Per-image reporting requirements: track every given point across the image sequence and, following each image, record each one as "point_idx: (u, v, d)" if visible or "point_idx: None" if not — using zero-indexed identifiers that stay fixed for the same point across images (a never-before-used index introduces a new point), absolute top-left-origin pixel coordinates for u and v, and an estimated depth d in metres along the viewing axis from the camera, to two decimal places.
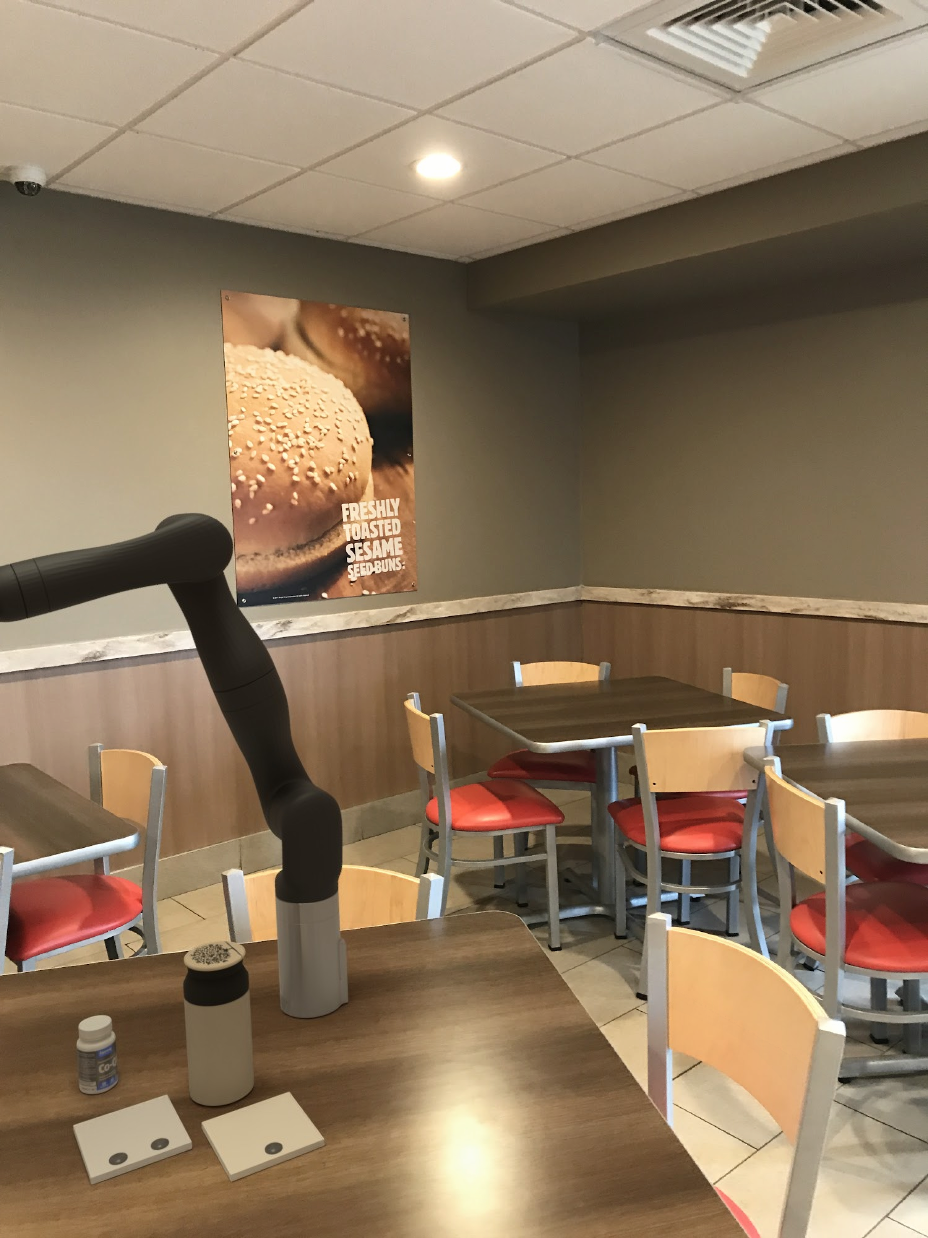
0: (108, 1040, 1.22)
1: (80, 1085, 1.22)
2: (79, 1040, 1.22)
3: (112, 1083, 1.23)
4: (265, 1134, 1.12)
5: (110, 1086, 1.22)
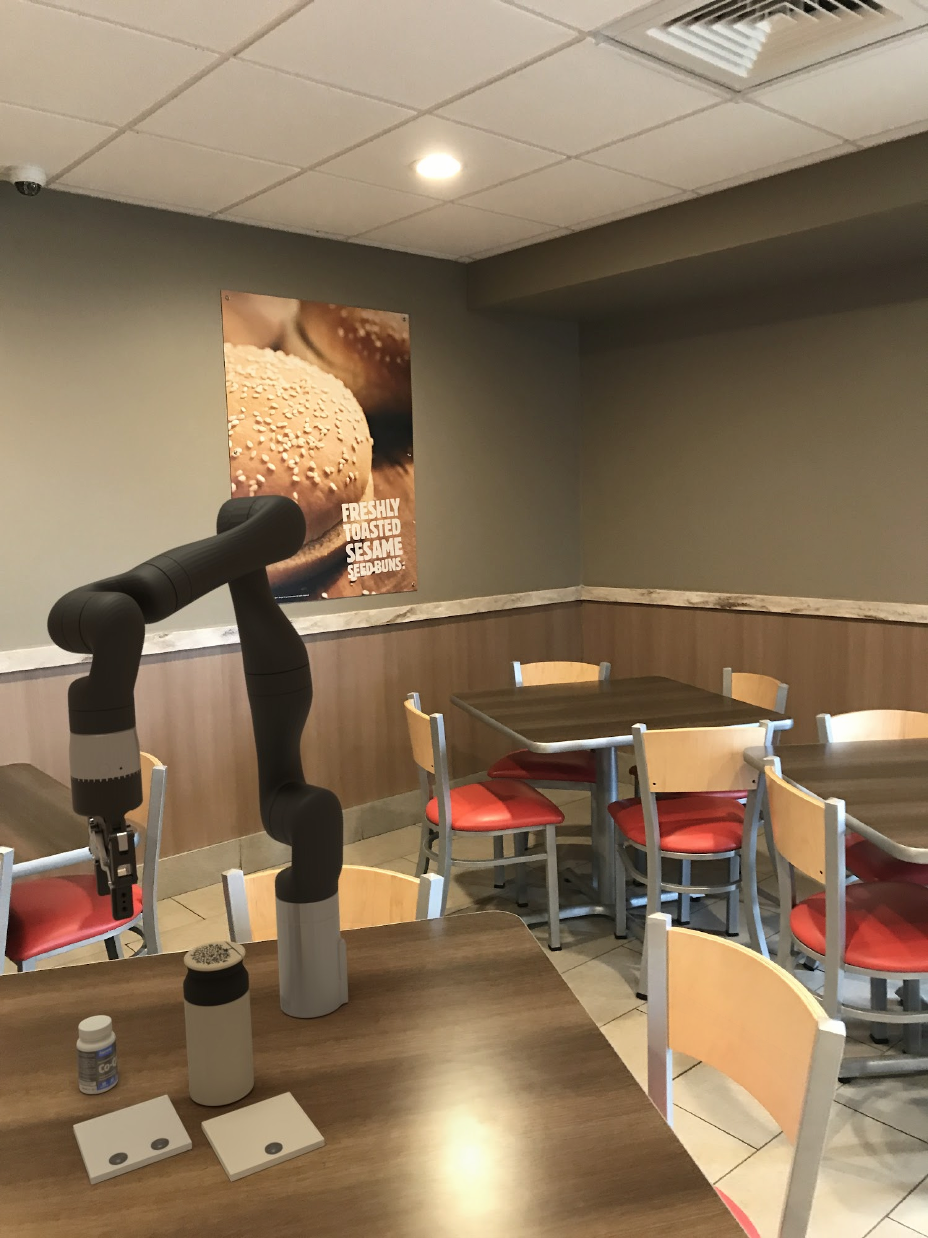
0: (108, 1040, 1.22)
1: (80, 1085, 1.22)
2: (79, 1040, 1.22)
3: (112, 1083, 1.23)
4: (265, 1134, 1.12)
5: (110, 1086, 1.22)
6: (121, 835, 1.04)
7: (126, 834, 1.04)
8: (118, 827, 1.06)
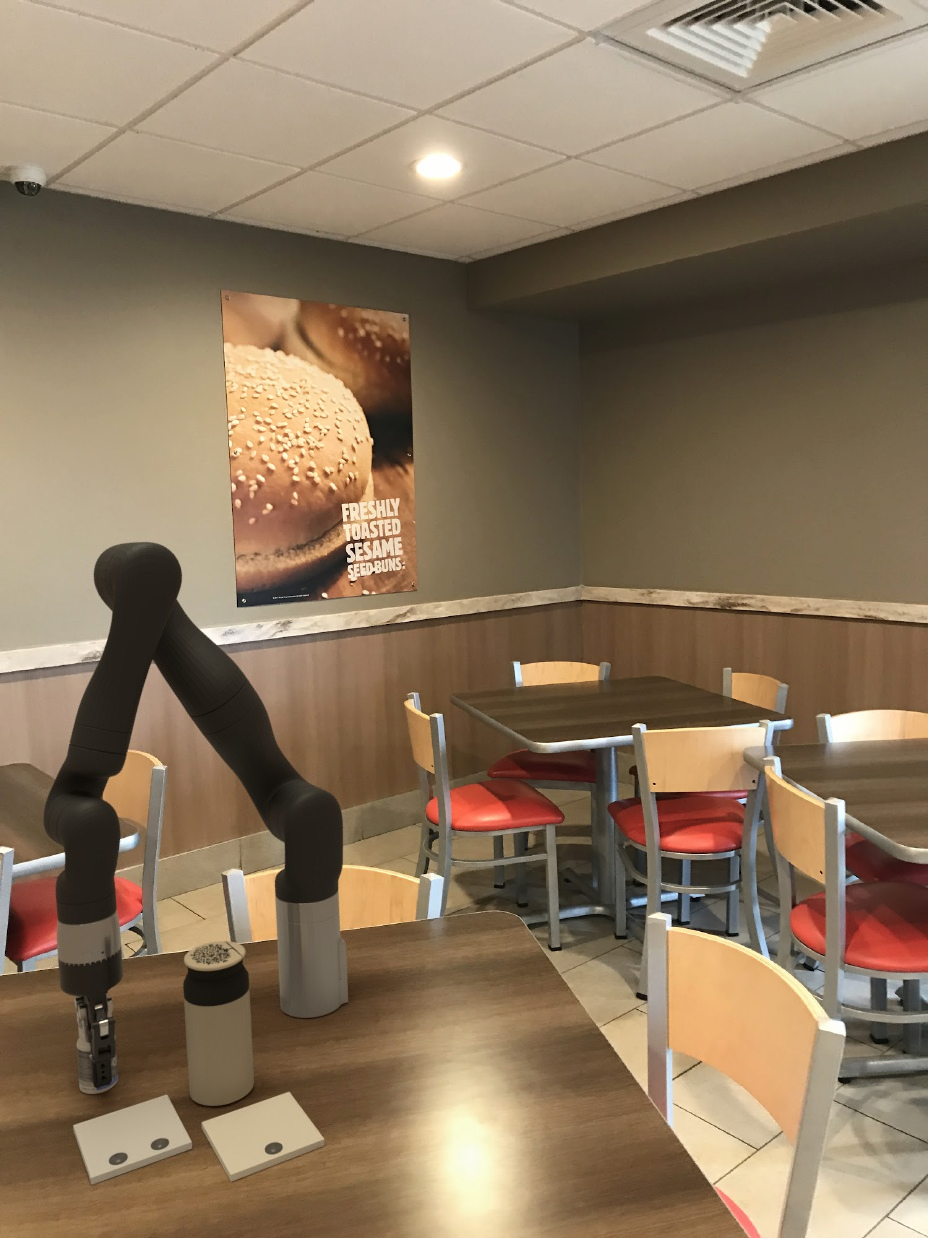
0: None
1: (80, 1085, 1.22)
2: (79, 1040, 1.22)
3: (112, 1083, 1.23)
4: (265, 1134, 1.12)
5: (110, 1086, 1.22)
6: (103, 1024, 1.17)
7: (108, 1023, 1.17)
8: (100, 1006, 1.19)
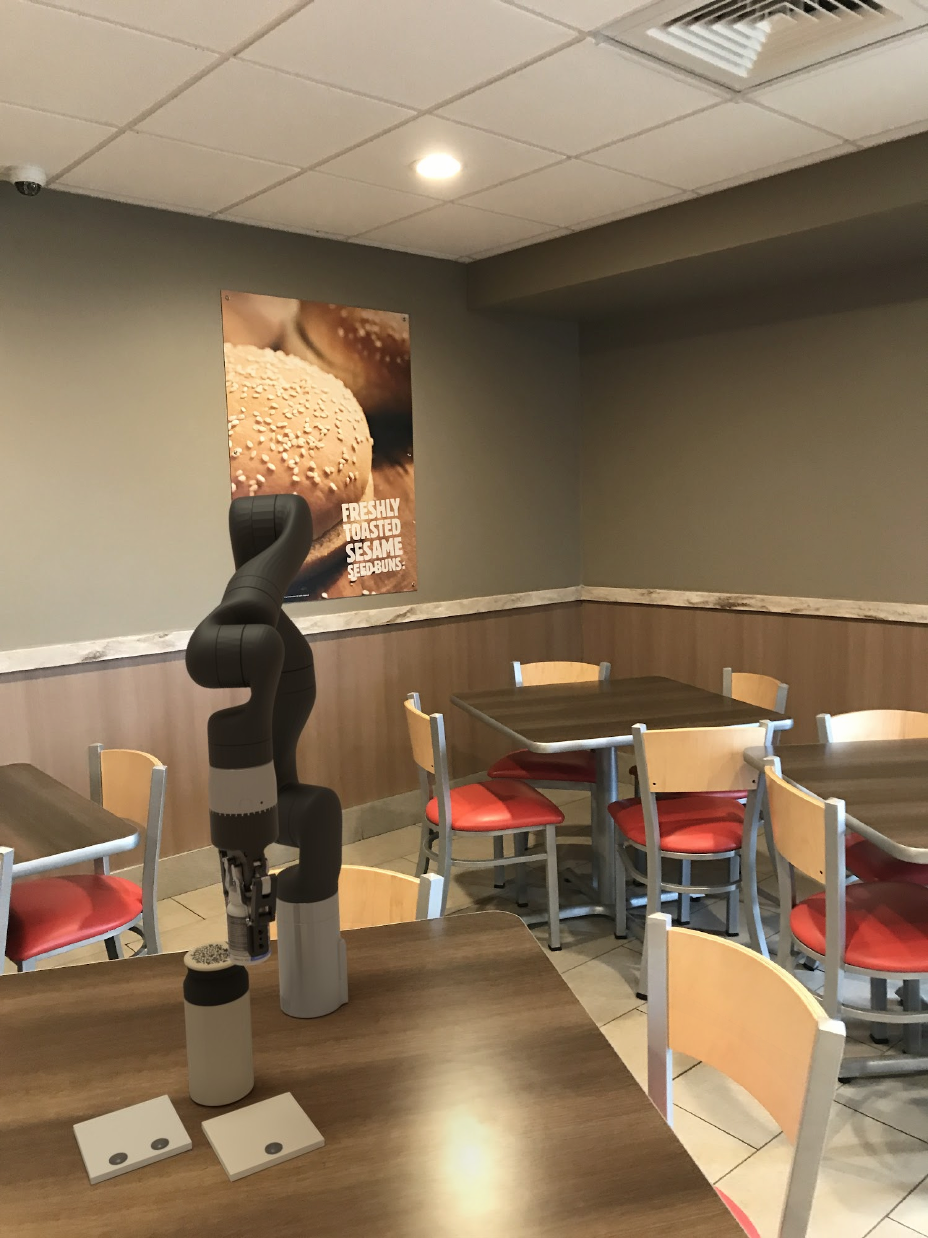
0: None
1: (231, 956, 1.08)
2: (230, 905, 1.09)
3: (266, 954, 1.09)
4: (265, 1134, 1.12)
5: (264, 958, 1.09)
6: (265, 881, 1.03)
7: (270, 879, 1.04)
8: (259, 864, 1.06)
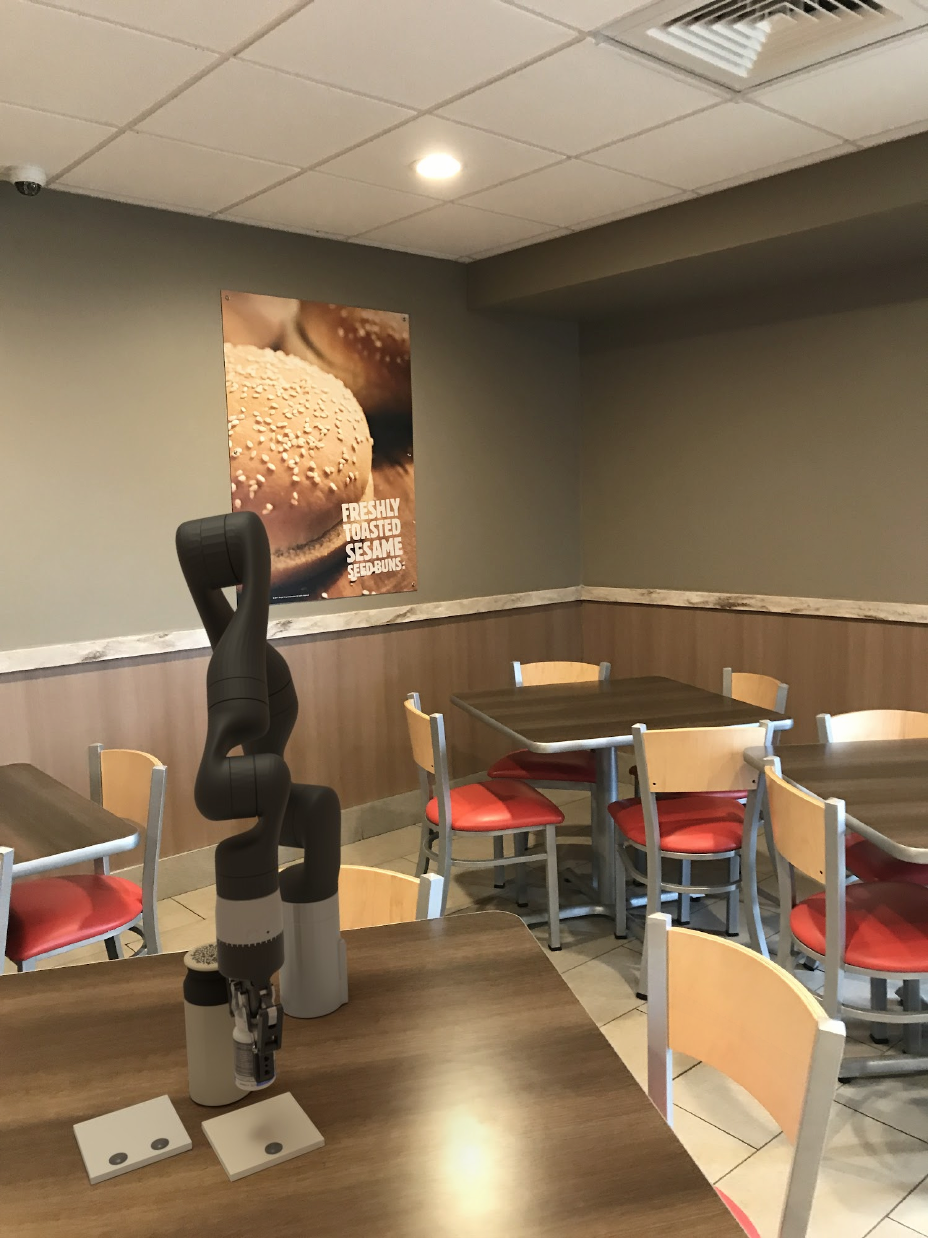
0: None
1: (237, 1080, 1.10)
2: (236, 1030, 1.10)
3: None
4: (265, 1134, 1.12)
5: (270, 1082, 1.10)
6: (271, 1012, 1.05)
7: (276, 1010, 1.05)
8: (265, 992, 1.07)
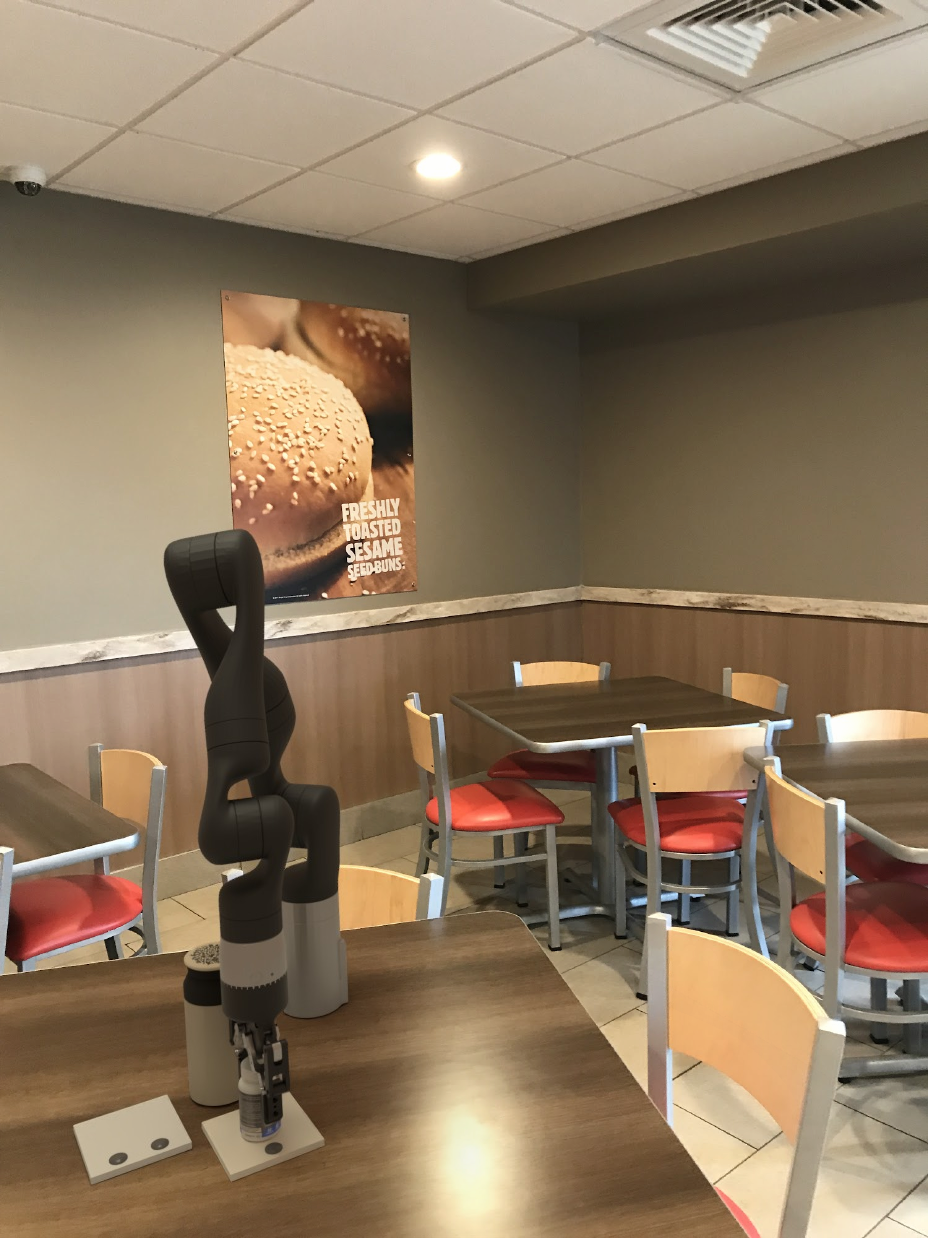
0: None
1: (243, 1131, 1.11)
2: (241, 1081, 1.11)
3: (277, 1129, 1.11)
4: None
5: (275, 1132, 1.11)
6: (276, 1046, 1.05)
7: (280, 1045, 1.06)
8: (269, 1032, 1.08)
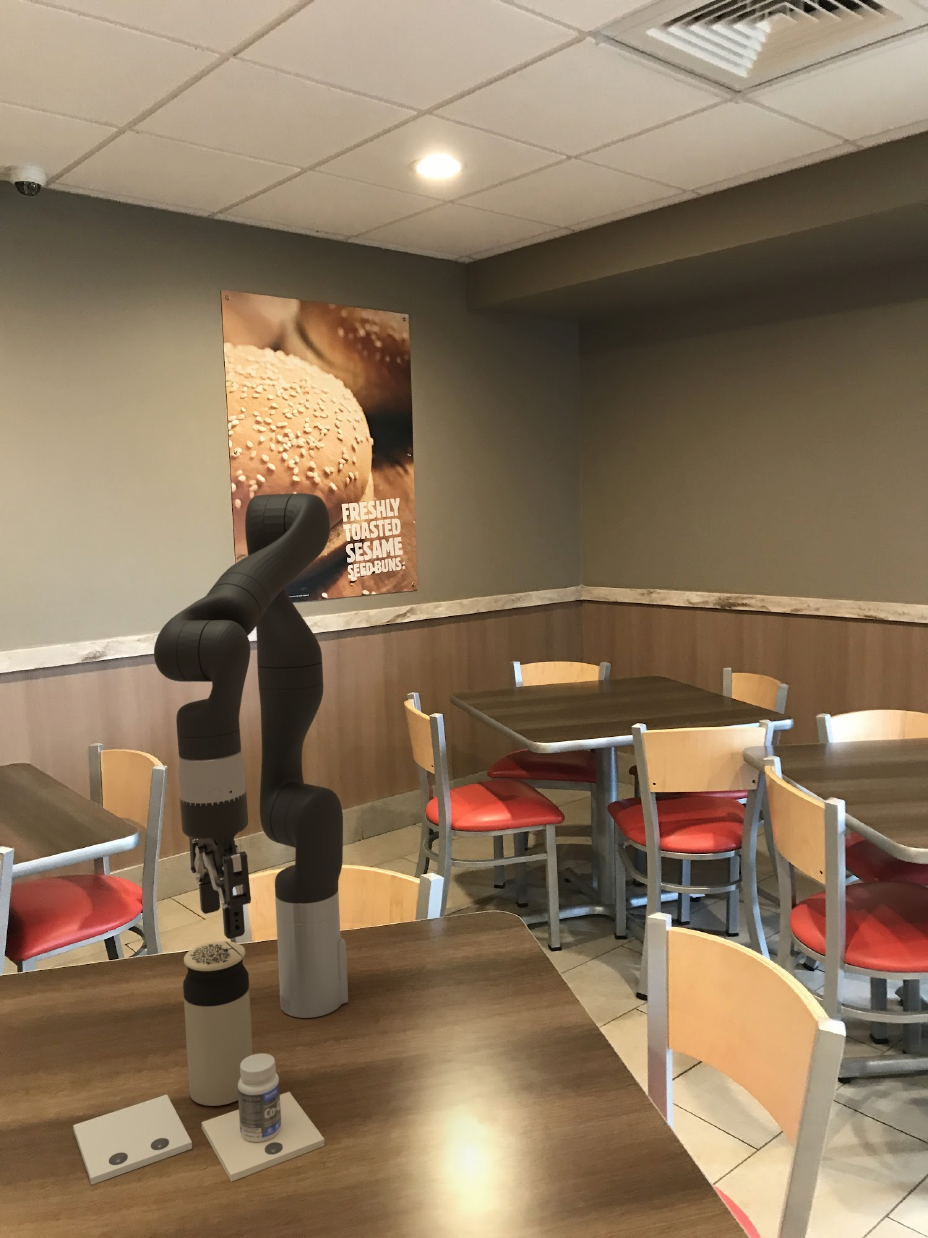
0: (273, 1082, 1.11)
1: (243, 1132, 1.11)
2: (241, 1082, 1.11)
3: (277, 1129, 1.11)
4: None
5: (275, 1132, 1.11)
6: (235, 857, 1.07)
7: (240, 856, 1.07)
8: (229, 848, 1.10)
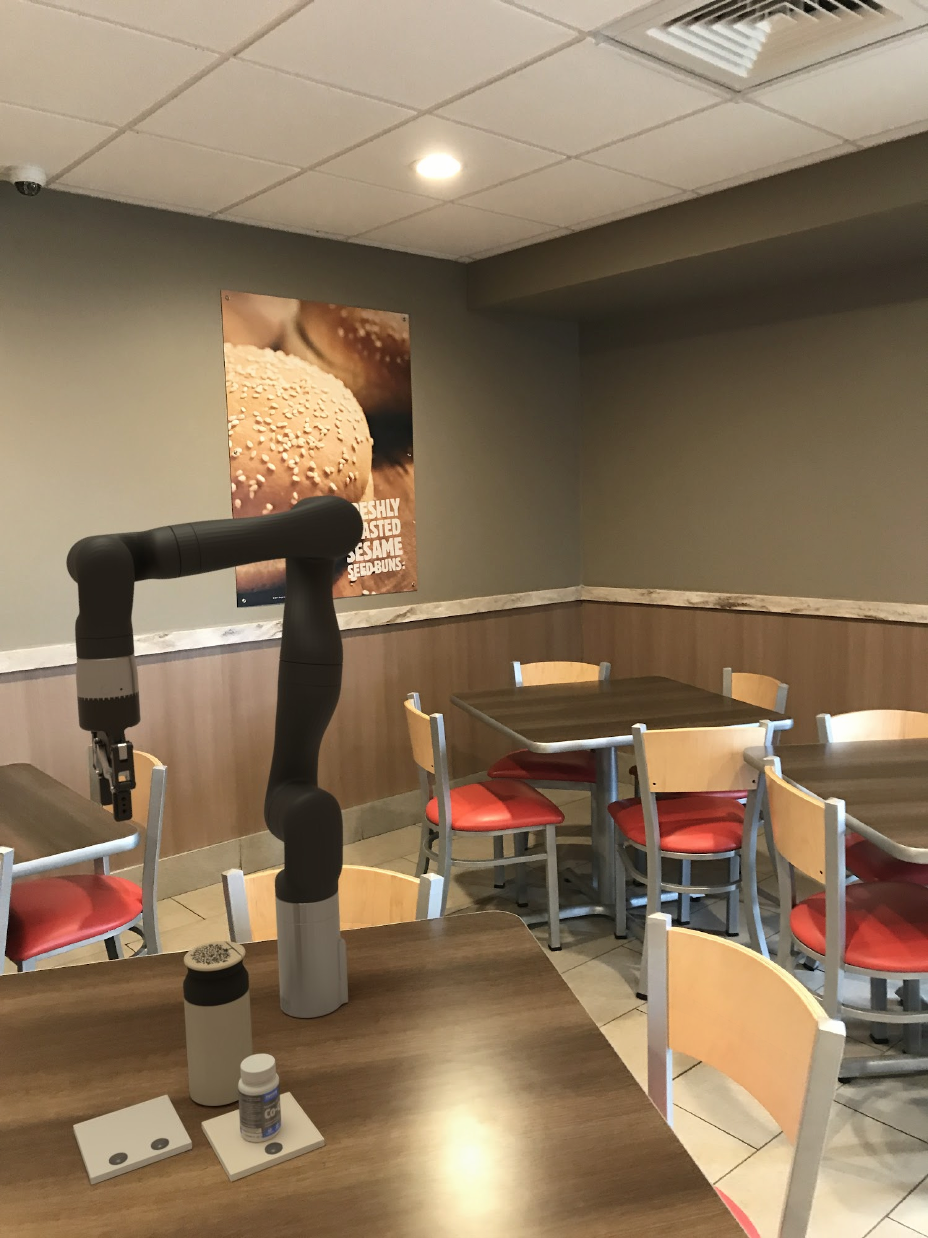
0: (274, 1082, 1.11)
1: (243, 1132, 1.11)
2: (241, 1082, 1.11)
3: (277, 1129, 1.11)
4: None
5: (275, 1133, 1.11)
6: (121, 745, 1.19)
7: (126, 745, 1.20)
8: (119, 740, 1.22)
